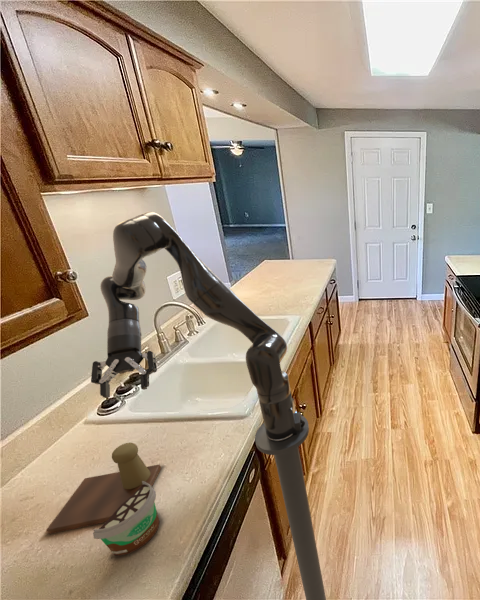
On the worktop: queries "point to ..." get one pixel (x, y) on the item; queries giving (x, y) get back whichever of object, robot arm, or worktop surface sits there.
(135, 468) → the cork
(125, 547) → the food container
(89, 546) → the worktop surface
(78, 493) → the cutting board
